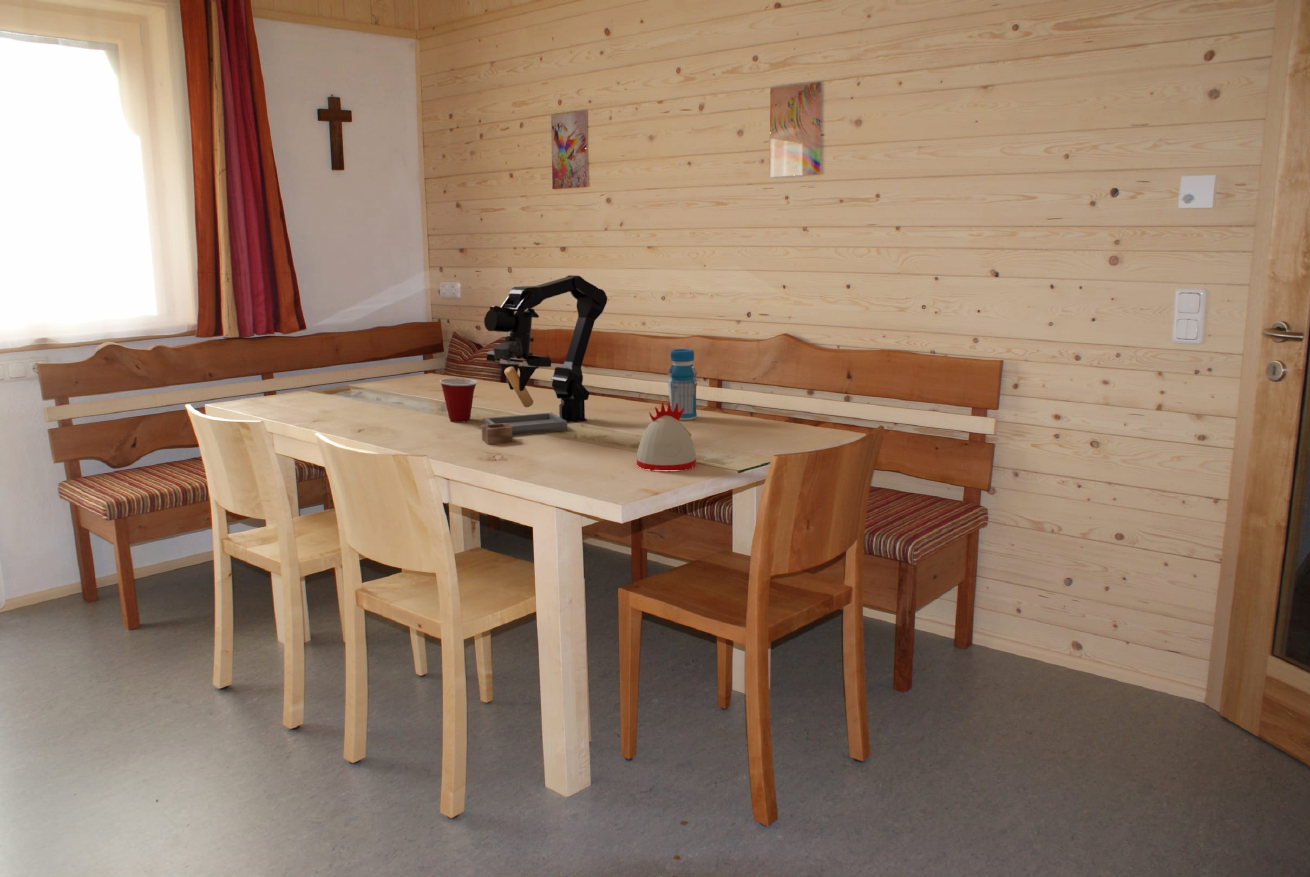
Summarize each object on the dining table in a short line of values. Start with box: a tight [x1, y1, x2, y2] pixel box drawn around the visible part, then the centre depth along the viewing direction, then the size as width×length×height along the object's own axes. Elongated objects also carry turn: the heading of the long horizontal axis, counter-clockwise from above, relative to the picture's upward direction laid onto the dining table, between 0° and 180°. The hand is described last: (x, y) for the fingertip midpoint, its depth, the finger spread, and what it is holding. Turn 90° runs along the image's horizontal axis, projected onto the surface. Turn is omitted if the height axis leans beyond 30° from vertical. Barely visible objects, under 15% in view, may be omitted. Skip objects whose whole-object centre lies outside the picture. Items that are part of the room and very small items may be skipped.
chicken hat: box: [636, 401, 697, 471], centre depth 227 cm, size 14×14×15 cm
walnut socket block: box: [481, 423, 514, 445], centre depth 256 cm, size 7×7×4 cm
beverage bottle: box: [667, 348, 698, 421], centre depth 283 cm, size 8×8×20 cm
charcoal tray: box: [482, 412, 568, 436], centre depth 272 cm, size 20×15×2 cm
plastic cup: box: [439, 377, 478, 423], centre depth 284 cm, size 11×11×12 cm
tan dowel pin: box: [504, 367, 534, 408], centre depth 268 cm, size 3×3×13 cm
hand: (516, 390), depth 267 cm, fingers closed on tan dowel pin, 3 cm apart
